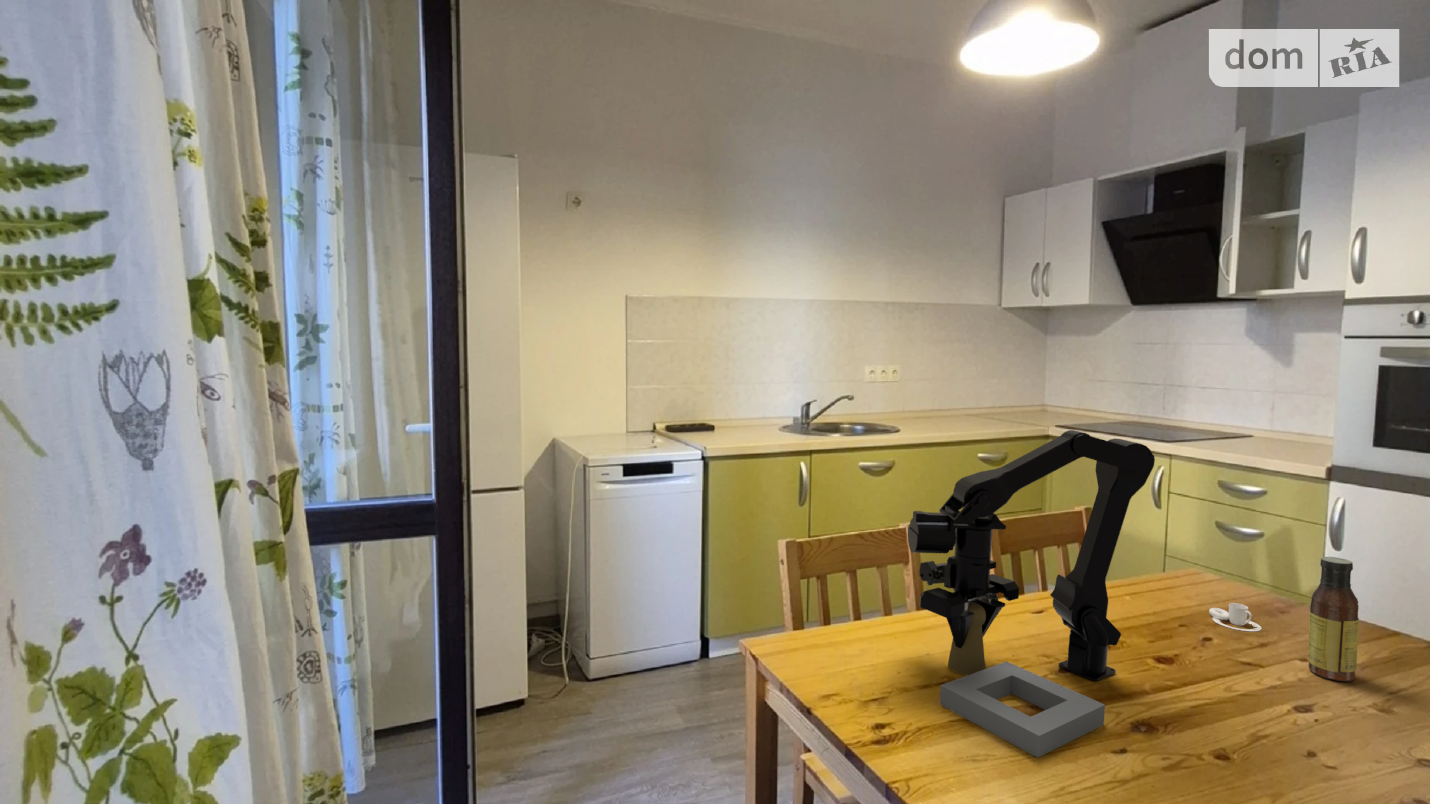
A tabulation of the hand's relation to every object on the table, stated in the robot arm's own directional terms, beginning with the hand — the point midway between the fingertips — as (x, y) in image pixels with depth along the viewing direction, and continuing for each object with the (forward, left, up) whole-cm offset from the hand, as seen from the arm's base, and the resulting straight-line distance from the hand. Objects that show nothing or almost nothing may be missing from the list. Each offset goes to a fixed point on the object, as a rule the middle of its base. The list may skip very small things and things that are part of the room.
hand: (967, 644), depth 118 cm
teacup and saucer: (-67, +14, -5) cm, 69 cm away
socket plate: (+6, +14, -4) cm, 16 cm away
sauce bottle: (-52, +33, -4) cm, 62 cm away
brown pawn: (0, 0, -4) cm, 4 cm away
